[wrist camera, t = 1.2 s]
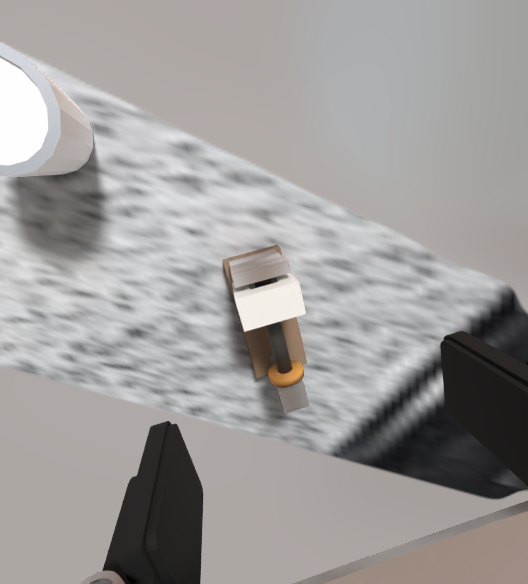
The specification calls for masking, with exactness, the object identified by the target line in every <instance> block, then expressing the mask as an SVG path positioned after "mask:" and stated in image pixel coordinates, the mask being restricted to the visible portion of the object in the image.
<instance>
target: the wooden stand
mask: <svg viewBox="0 0 528 584" xmlns="http://www.w3.org/2000/svg"><path fill="white" fill-rule="evenodd" d="M223 264H224V268H225V271H226V274H227V278H228V281H229V285H230V288H231V292H232V295H233V298H234V292H233V286H232V283H234V286H235V288H238V287H241V286H245V285H248V284H252V283H254V284H255V288H258V287H262V286H265V285H269V284H271V280H270V278H274V277H277V276H281V275H284V274H288V273H291V270H290V265H289V261H287V260H286V259H285V258H284V257H283V256H282V254H281V249H280V247H279V246H278V245H275V246H272V247H268V248H264V249H261V250H257V251H253V252H250V253H246V254H242V255H239V256H235V257H231V258H228V259H224V260H223ZM234 302H235V298H234ZM235 305H236V302H235ZM236 309H237V305H236ZM237 312H238V309H237ZM238 315H239V312H238ZM239 319H240V315H239ZM240 322H241V319H240ZM241 326H242V322H241ZM242 329H243V326H242ZM243 332H244V329H243ZM244 336H245V339H246V343H247V346H248V349H249V353H250V356H251V360H252V363H253V366H254V370H255V373H256V377H257V378H259V377H262V376H266V375H269V379H270V382H271V383H272V384H273V385H275V386H276V387H277V391H278V394H279V397H280V400H281V403H282V407H283V410H284V413H288V412H291V411H295V410H298V409H301V408H304V407H308V406H309V403H308V399H307V395H306V391H305V386H304V383H303V381H302V378H303V376H304V370H303V366H302V365H303V364H306V363H307V361H306V356H305V352H304V348H303V343H302V339H301V335H300V331H299V326H298V322H297V318H296V317H294V318H290V319H287V320H283V321H280V322H277V323H273V324H270V325H266V326H263V327H259V328H256V329H252V330H249V331H245V332H244Z"/></svg>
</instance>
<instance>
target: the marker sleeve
mask: <svg viewBox="0 0 528 584" xmlns="http://www.w3.org/2000/svg"><path fill="white" fill-rule="evenodd" d="M270 280H271V284H269V285H265V286H262V287H258V288H255V284H254V283H252V284H248V285H245V286H241V287H238V288H235V286H234V283H232V286H233V292H234V298H235V302H236V305H237V309H238V312H239V315H240V319H241V322H242V326H243V329H244V332H245V331H249V330H252V329H256V328H259V327H263V326H266V325H270V324H273V323H277V322H280V321H283V320H287V319H290V318H294V317H297V316H301V315H304V314H306V311H305V307H304V303H303V298H302V294H301V289H300V285H299V281H298V280H297V279H296V278H295V277H294V276H293V275H292V274H291V273H288V274H284V275H281V276H277V277H274V278H270Z"/></svg>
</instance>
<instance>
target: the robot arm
mask: <svg viewBox="0 0 528 584" xmlns="http://www.w3.org/2000/svg"><path fill="white" fill-rule="evenodd" d="M441 358H442V371H443V383H444V395H445V405H446V408H447V410H448V412H449V414H450V415H451V416H452V417H453V418H454V419H455V420H457V421H458V422H459V423H460V424H461V425H462V426H463V427H464V428H465V429H466V430H467V431H469V432H470V433H471V434H472V435H473V436H474V437H475V438H476V439H477V440H478V441H479V442H480V443H482V444H483V445H484V446H485V447H486V448H487V449H488V450H489V451H490V452H491V453H492V454H494V455H495V456H496V457H497V458H498V459H499V460H500V461H501V462H502V463H503V464H504V465H506V466H507V467H508V468H509V469H510V470H511V471H512V472H513V473H514V474H515V475H516V476H517V477H519V478H520V479H521V480H522V481H523V482H524V483H525V484H526V485H527V486H528V365H526V364H524V363H522V362H520V361H518V360H516V359H515V358H513V357H511V356H509V355H507V354H505V353H503V352H502V351H500V350H498V349H496V348H494V347H492V346H490V345H488V344H487V343H485V342H483V341H481V340H479V339H477V338H475V337H474V336H472V335H470V334H468V333H466V332H464V331H460V332H456V333H453V334H450V335H447V336H445V337H444V341H442V342H441ZM202 517H203V489H202V485H201V482H200V480H199V477H198V475H197V473H196V470H195V467H194V465H193V463H192V460H191V457H190V455H189V453H188V450H187V448H186V445H185V443H184V440H183V438H182V435H181V433H180V430H179V428H178V426H177V424H173V425H172V424H171V423H170V422H169V421H166V422H163V423H160V424H157V425H153V426H151V428H150V431H149V434H148V438H147V441H146V445H145V449H144V452H143V456H142V459H141V463H140V467H139V471H138V474H137V476H135V477H132V478H131V479H130V481H129V484H128V487H127V490H126V493H125V497H124V500H123V504H122V507H121V510H120V514H119V517H118V520H117V524H116V527H115V530H114V534H113V537H112V541H111V544H110V547H109V551H108V554H107V557H106V561H105V564H104V568H103V571H102V572H98V573H96V574H94V575H92V576H90V577H88V578H87V579H86V580H84V581H83V582H82V583H81V584H200V575H201V545H202ZM293 584H528V501H526V502H523V503H520V504H517V505H514V506H511V507H508V508H506V509H503V510H500V511H497V512H494V513H491V514H488V515H485V516H482V517H479V518H476V519H474V520H471V521H468V522H465V523H462V524H460V525H456V526H454V527H451V528H448V529H446V530H443V531H439V532H437V533H434V534H431V535H428V536H425V537H422V538H420V539H417V540H414V541H411V542H408V543H405V544H403V545H400V546H397V547H394V548H392V549H389V550H386V551H383V552H380V553H377V554H374V555H372V556H369V557H366V558H363V559H360V560H357V561H355V562H352V563H349V564H346V565H343V566H341V567H338V568H335V569H333V570H330V571H327V572H324V573H321V574H319V575H316V576H313V577H310V578H307V579H305V580H302V581H299V582H296V583H293Z"/></svg>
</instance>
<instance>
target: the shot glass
mask: <svg viewBox="0 0 528 584" xmlns="http://www.w3.org/2000/svg"><path fill="white" fill-rule="evenodd" d="M92 150H93V131H92V129H91V126H90V124H89V121H88V119H87V117H86V115H85V114H84V113H83V112H82V111H81V110H80V109H79V107H78V106H77V105H76V104H75V103H74V102H73V101H72V100H71V99H70V98H69V97H68V96H67V95H66V94H65V93H64V92H63V91H62V90H61V89H60V88H59V87H58V86H56V85H55V84H54V83H53V82H52V81H51V80H50V79H49V78H48V77H47V76H46V75H45V74H44V73H43V72H42V71H41V70H40V69H39V68H38V67H37V66H36V65H35V64H34V63H33V62H32V61H31V60H30V59H29V58H27V57H25V56H24V55H22V54H20V53H19V52H17V51H15V50H13V49H12V48H10V47H8V46H7V45H5V44H3V43H2V42H0V176H6V177H27V176H44V175H61V174H67V173H70V172H74V171H77V170H78V169H80V168H81V167H82V166H83V165H84V164H85V163H86V162H88V160H89V157H90V155H91V152H92Z"/></svg>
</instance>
